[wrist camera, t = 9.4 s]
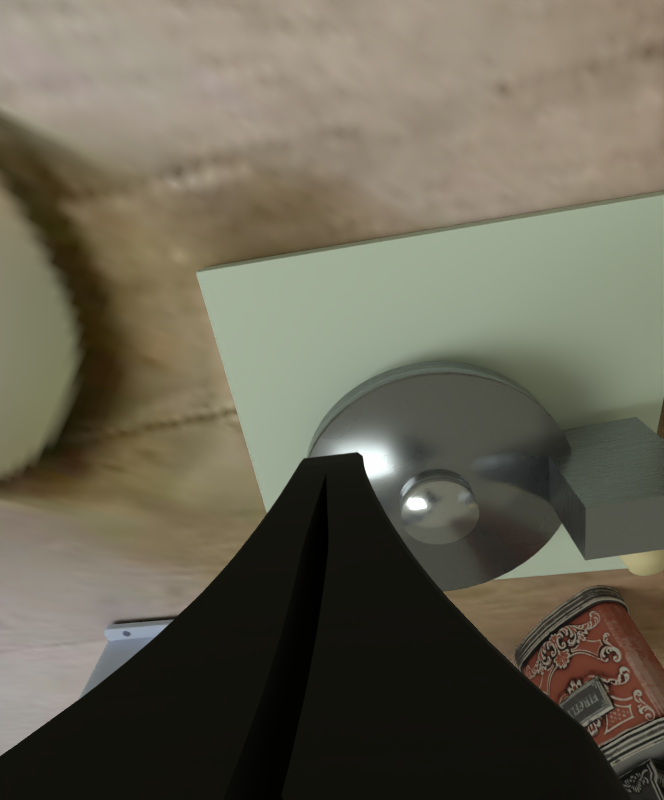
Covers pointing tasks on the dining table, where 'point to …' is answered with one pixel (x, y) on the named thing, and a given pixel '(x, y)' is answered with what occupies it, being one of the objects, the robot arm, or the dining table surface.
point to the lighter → (604, 683)
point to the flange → (494, 471)
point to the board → (453, 329)
